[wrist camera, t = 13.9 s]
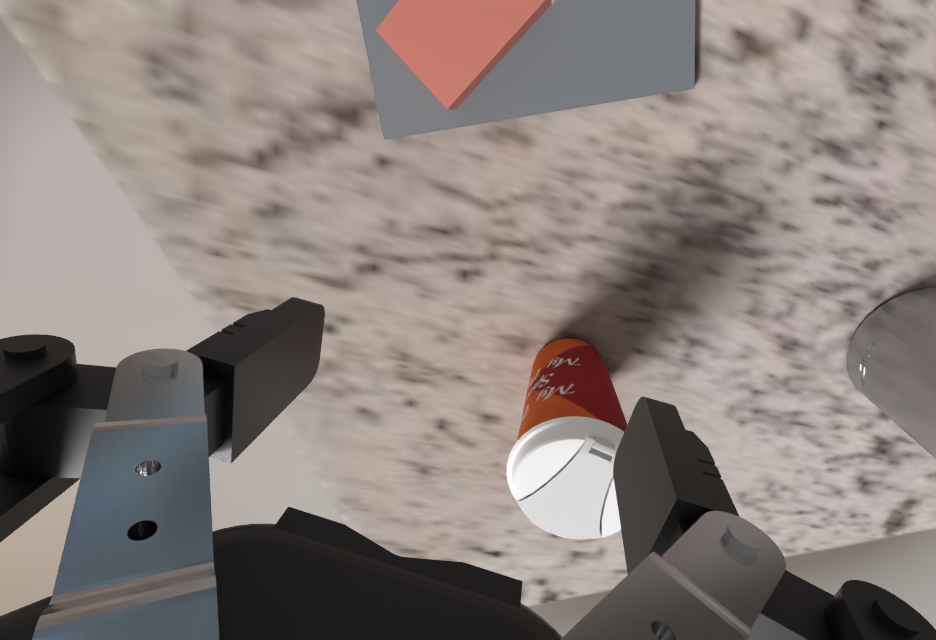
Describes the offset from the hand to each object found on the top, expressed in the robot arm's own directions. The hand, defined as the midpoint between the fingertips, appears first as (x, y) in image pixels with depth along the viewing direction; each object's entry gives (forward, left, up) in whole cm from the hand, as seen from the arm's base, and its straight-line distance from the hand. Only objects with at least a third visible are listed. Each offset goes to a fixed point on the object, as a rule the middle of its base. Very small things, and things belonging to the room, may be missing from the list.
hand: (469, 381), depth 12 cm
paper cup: (-2, +13, -25) cm, 28 cm away
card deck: (+5, -10, -23) cm, 25 cm away
